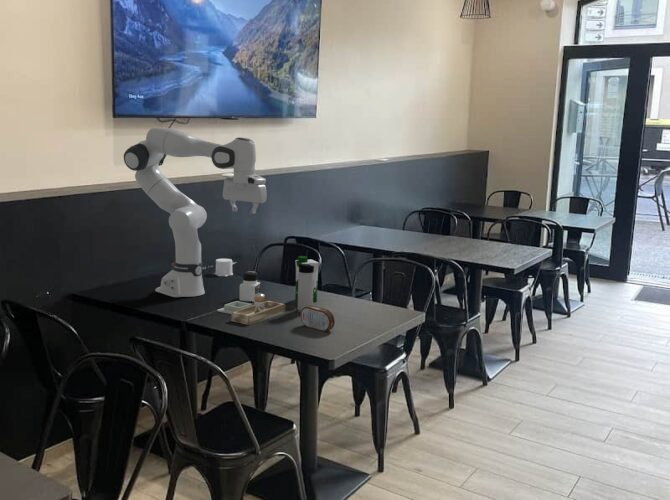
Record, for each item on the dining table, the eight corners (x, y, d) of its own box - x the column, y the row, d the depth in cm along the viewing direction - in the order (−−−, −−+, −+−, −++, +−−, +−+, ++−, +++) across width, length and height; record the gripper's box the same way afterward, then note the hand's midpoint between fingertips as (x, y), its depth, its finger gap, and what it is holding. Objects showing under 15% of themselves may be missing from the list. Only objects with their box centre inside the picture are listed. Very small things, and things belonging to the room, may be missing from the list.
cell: (251, 314, 274) (252, 294, 273) (258, 312, 277) (258, 292, 276) (260, 316, 272) (260, 296, 271) (266, 314, 275) (266, 294, 274)
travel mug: (293, 310, 285) (295, 263, 282) (306, 308, 290) (307, 261, 286) (303, 314, 281) (304, 265, 277) (315, 312, 285) (317, 264, 281)
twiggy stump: (251, 277, 346) (251, 261, 345) (218, 281, 334) (218, 265, 332) (228, 270, 361) (228, 254, 360) (196, 274, 348) (196, 258, 347)
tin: (334, 332, 258) (335, 310, 257) (329, 334, 256) (330, 312, 254) (304, 324, 267) (305, 302, 266) (298, 325, 265) (299, 304, 263)
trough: (231, 321, 267) (231, 312, 267) (267, 308, 287) (267, 300, 286) (250, 325, 263) (250, 316, 262) (285, 312, 282) (285, 304, 282)
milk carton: (292, 300, 302) (293, 255, 298) (311, 298, 306) (312, 254, 303) (300, 305, 294) (302, 259, 291) (319, 303, 298) (321, 257, 295)
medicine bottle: (255, 302, 297) (255, 274, 295) (239, 300, 298) (239, 273, 296) (260, 298, 304) (260, 271, 302) (244, 296, 305) (245, 270, 303)
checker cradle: (217, 311, 280) (217, 304, 280) (235, 305, 291) (235, 299, 290) (240, 316, 274) (240, 309, 274) (259, 310, 285) (259, 303, 284)
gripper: (219, 176, 285) (219, 210, 287) (259, 180, 274) (259, 215, 277) (229, 176, 290) (229, 209, 292) (269, 179, 280) (268, 213, 282)
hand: (244, 212), depth 284 cm, fingers open, 8 cm apart
